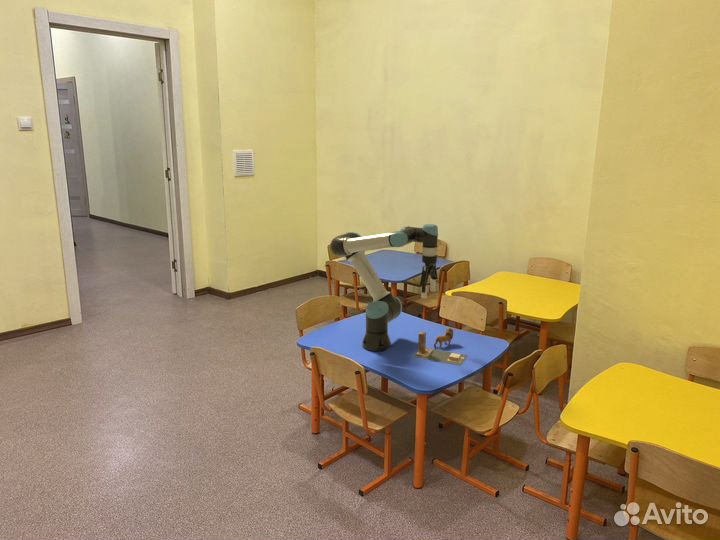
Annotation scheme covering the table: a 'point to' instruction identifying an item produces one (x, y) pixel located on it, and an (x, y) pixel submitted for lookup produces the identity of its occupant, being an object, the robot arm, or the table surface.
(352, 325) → the table surface
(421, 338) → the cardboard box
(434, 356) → the taupe mat
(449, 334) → the lion figurine
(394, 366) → the table surface
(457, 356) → the cream square tile
